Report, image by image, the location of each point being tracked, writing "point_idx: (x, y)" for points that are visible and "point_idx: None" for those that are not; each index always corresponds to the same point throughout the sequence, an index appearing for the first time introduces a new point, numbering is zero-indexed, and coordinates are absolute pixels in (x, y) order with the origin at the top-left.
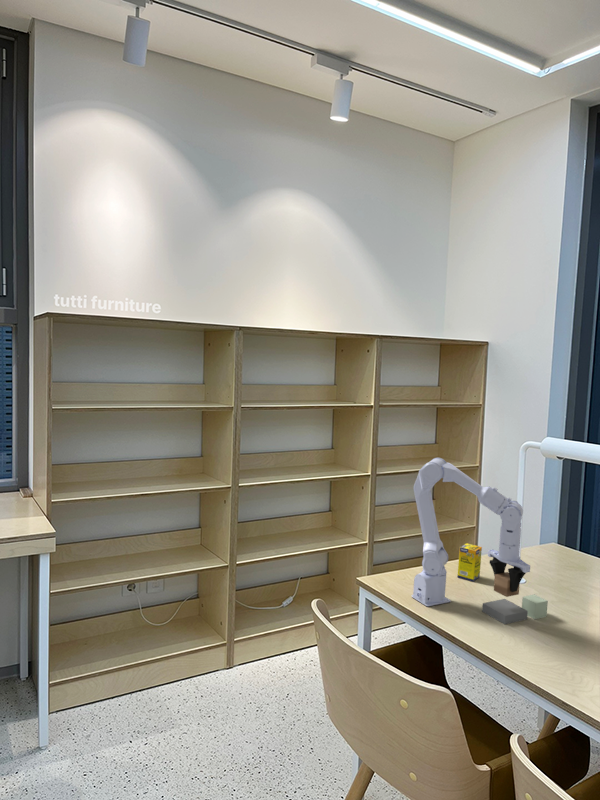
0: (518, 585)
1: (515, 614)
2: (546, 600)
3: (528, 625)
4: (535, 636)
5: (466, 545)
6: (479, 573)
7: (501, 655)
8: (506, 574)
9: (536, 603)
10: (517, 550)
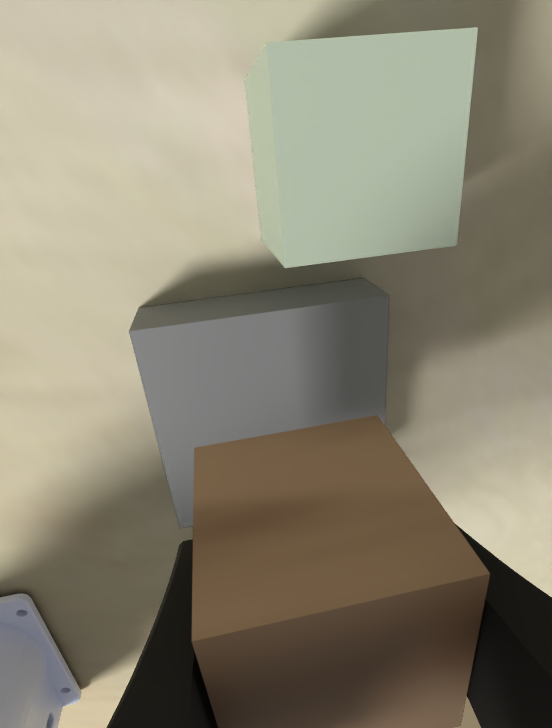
0: (469, 539)
1: (382, 408)
2: (463, 38)
3: (430, 331)
4: (531, 380)
5: None
6: None
7: (542, 587)
8: (290, 682)
9: (457, 237)
10: None
